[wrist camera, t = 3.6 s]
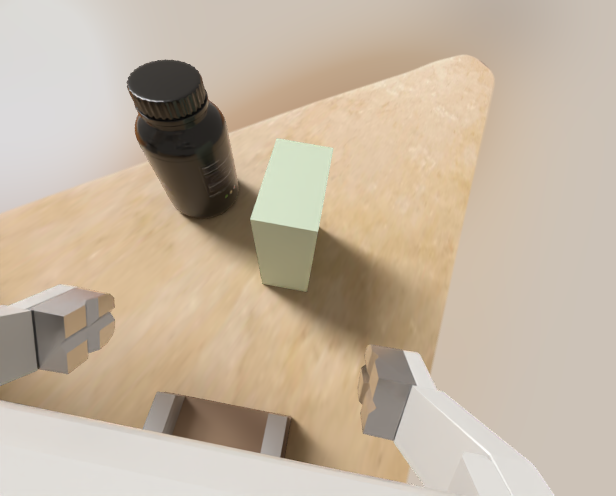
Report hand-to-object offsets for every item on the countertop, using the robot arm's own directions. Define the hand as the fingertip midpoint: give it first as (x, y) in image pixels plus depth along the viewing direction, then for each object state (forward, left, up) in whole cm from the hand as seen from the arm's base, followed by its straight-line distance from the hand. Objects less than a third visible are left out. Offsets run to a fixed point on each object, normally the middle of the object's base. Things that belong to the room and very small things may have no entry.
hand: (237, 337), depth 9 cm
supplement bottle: (-10, +16, -15) cm, 24 cm away
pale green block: (0, +11, -15) cm, 18 cm away
